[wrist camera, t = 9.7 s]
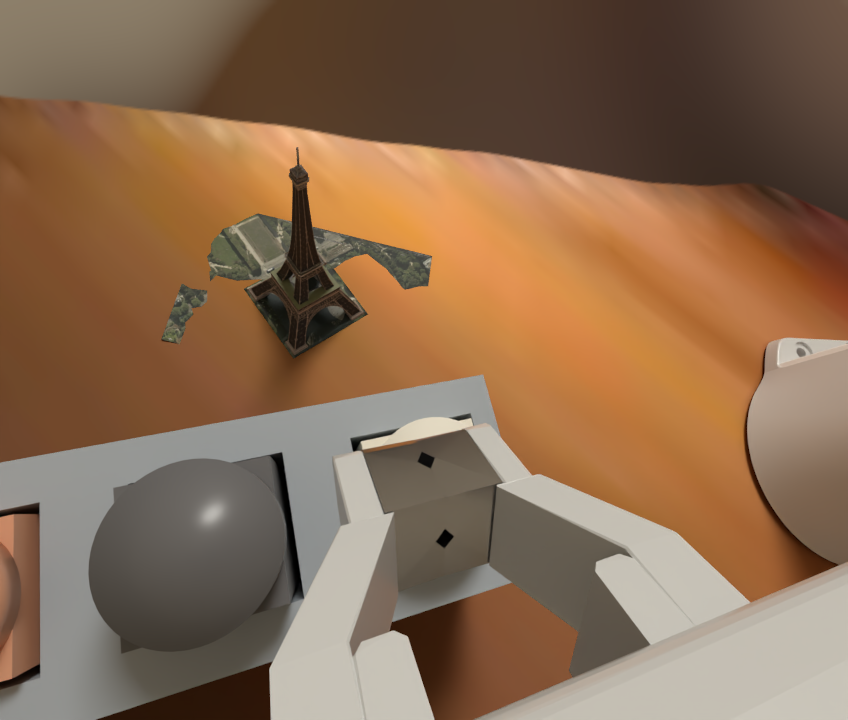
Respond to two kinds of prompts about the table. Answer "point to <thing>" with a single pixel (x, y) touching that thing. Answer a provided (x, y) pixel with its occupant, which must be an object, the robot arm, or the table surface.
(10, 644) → the button terracotta
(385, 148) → the table surface
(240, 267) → the eiffel tower figurine
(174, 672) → the button console
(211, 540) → the button charcoal
